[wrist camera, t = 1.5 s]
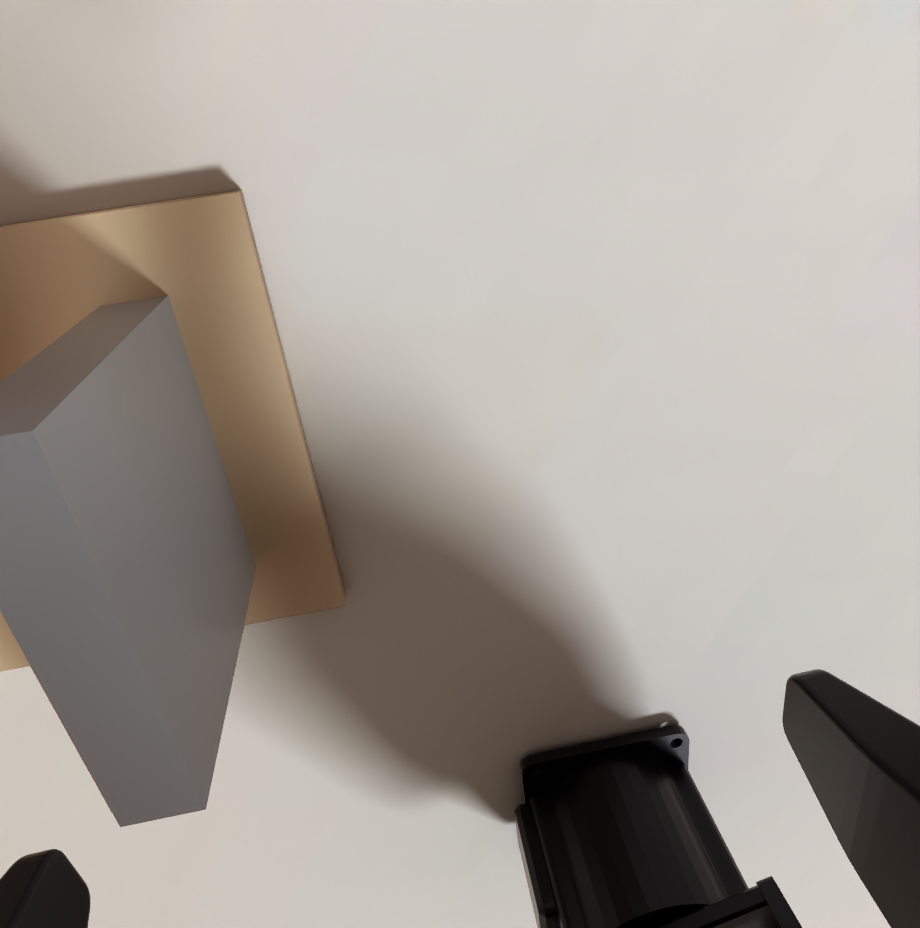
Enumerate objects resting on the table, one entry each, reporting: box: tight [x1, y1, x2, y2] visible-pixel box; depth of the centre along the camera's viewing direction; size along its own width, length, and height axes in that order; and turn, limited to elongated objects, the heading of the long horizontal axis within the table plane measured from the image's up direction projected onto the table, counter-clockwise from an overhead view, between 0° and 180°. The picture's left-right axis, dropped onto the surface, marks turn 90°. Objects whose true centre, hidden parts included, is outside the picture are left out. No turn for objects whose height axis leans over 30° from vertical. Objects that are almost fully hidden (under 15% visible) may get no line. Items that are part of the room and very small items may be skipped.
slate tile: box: [0, 295, 256, 827], centre depth 15 cm, size 2×8×8 cm, turn 7°
